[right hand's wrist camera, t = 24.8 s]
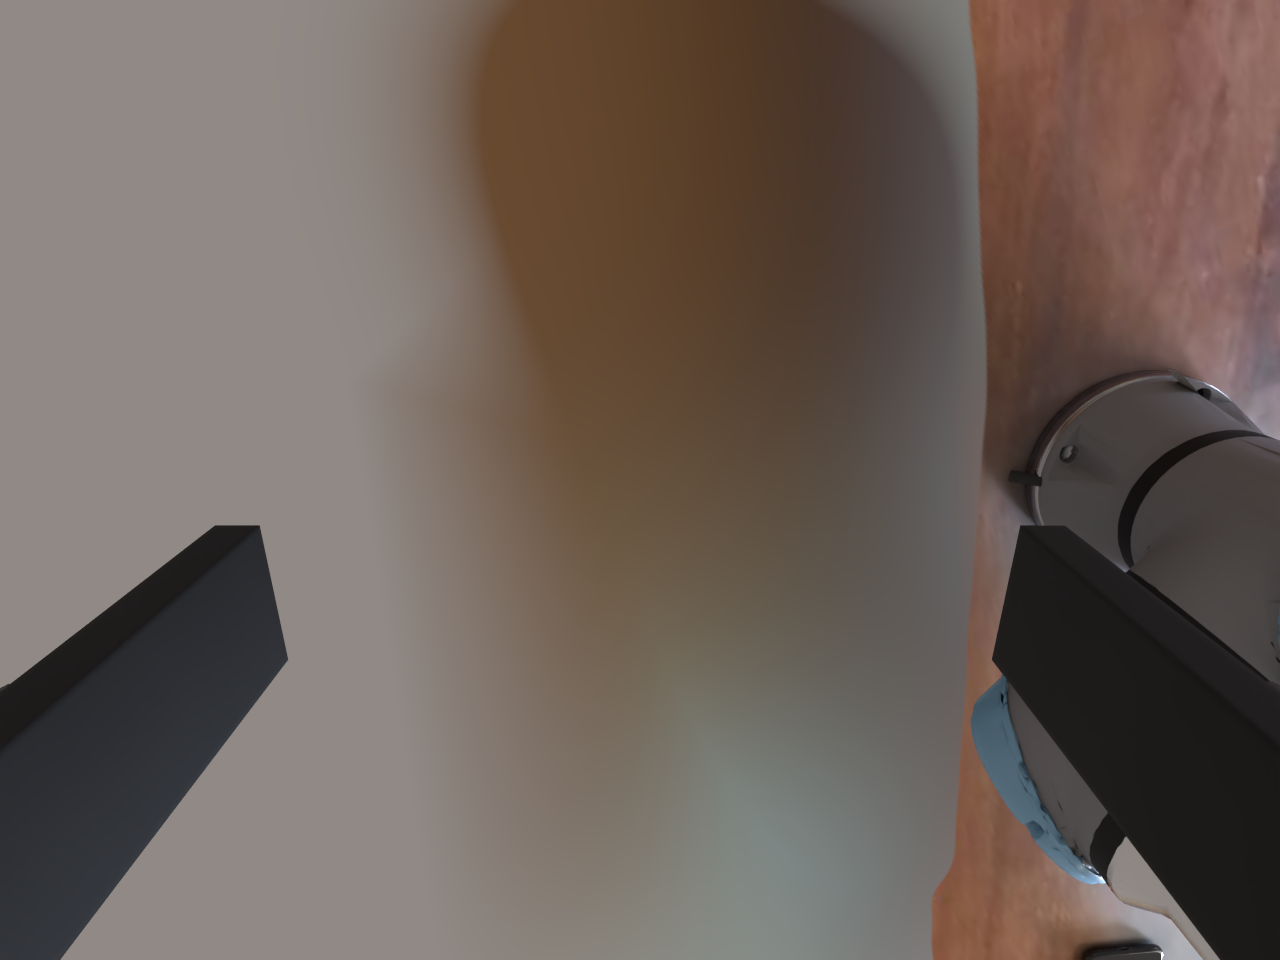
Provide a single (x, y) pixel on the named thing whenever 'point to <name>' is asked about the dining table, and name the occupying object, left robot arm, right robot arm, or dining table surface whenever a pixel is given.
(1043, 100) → the dining table surface
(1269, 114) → the dining table surface
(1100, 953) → the smartphone
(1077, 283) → the dining table surface
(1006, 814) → the dining table surface
